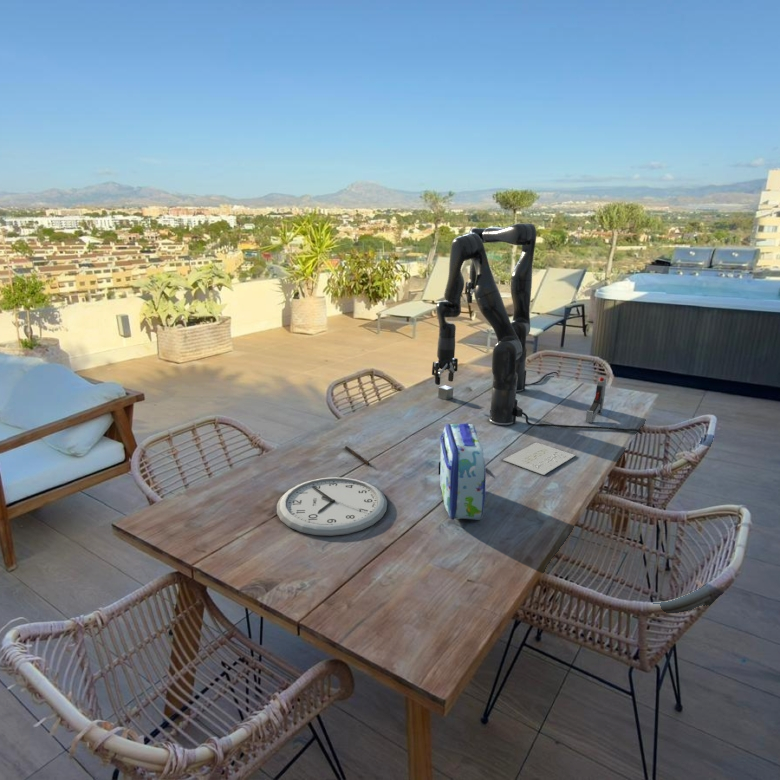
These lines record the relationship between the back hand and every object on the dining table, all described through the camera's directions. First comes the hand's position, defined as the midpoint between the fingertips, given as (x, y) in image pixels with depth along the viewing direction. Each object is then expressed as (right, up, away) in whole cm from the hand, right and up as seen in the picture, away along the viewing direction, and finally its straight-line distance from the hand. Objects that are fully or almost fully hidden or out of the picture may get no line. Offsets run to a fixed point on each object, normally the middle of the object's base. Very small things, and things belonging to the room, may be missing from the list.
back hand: (475, 302), depth 266 cm
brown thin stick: (-55, -67, -93) cm, 127 cm away
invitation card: (+6, -67, -92) cm, 114 cm away
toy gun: (+40, -56, -53) cm, 87 cm away
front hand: (-19, -41, -34) cm, 57 cm away
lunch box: (-24, -76, -121) cm, 145 cm away
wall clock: (-59, -76, -123) cm, 157 cm away
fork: (-15, -69, -97) cm, 120 cm away
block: (-19, -48, -31) cm, 60 cm away
